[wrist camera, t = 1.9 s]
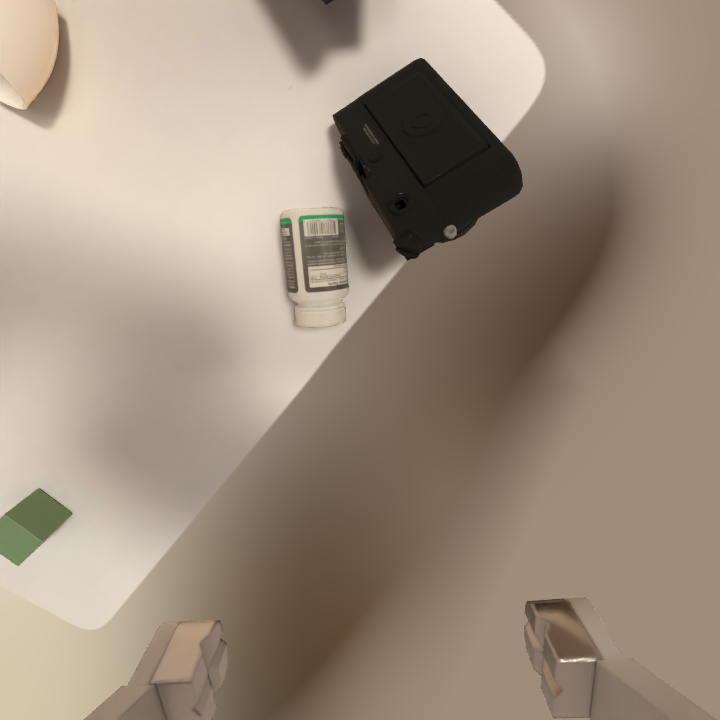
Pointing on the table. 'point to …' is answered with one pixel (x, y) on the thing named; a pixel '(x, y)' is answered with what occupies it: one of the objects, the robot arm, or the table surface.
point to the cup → (26, 49)
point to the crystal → (327, 1)
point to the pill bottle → (316, 264)
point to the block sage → (30, 525)
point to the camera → (425, 158)
